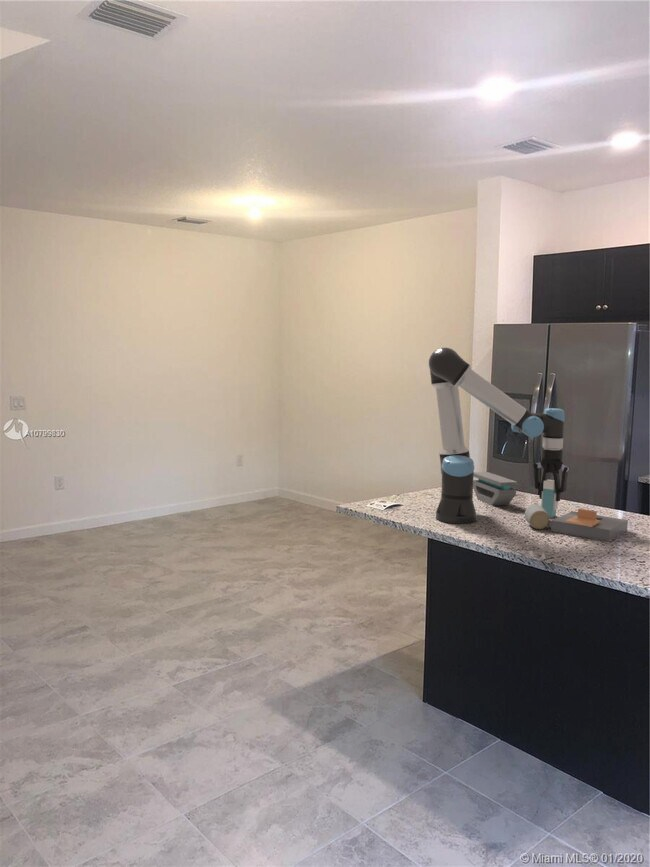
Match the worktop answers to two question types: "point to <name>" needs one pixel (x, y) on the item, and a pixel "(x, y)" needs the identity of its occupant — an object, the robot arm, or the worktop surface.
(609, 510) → the worktop surface
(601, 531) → the socket block
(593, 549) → the worktop surface
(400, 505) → the worktop surface
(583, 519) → the terracotta shutter
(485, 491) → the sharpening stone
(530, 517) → the ceramic mug
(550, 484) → the teal plug
